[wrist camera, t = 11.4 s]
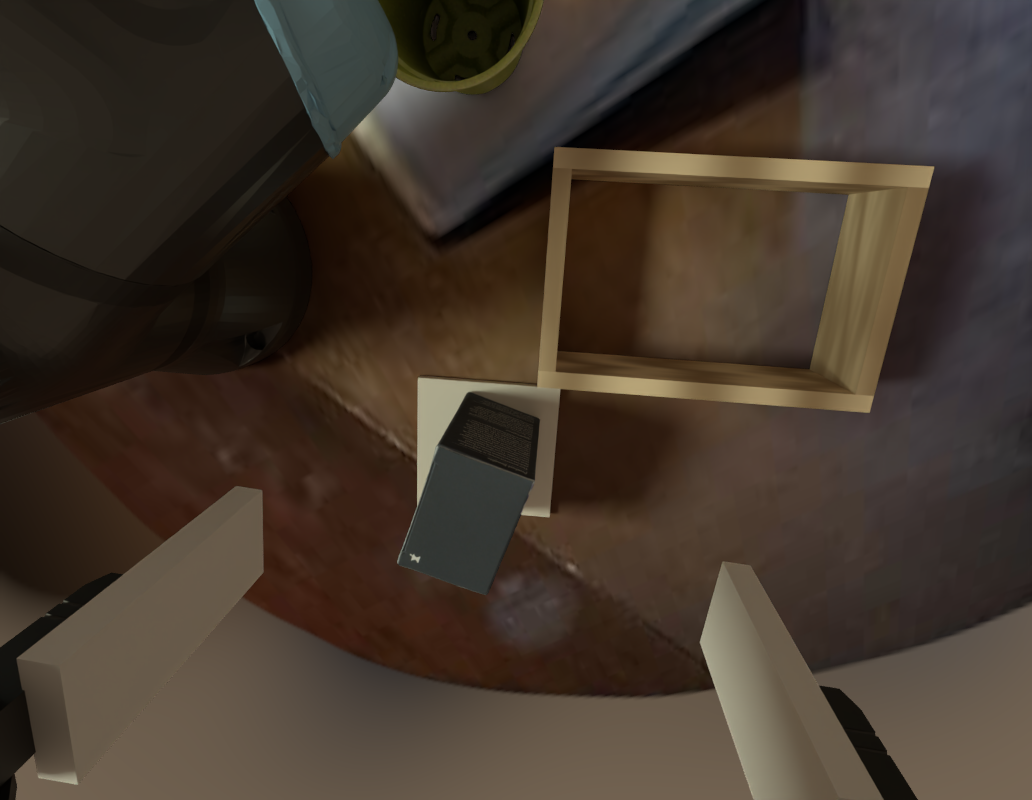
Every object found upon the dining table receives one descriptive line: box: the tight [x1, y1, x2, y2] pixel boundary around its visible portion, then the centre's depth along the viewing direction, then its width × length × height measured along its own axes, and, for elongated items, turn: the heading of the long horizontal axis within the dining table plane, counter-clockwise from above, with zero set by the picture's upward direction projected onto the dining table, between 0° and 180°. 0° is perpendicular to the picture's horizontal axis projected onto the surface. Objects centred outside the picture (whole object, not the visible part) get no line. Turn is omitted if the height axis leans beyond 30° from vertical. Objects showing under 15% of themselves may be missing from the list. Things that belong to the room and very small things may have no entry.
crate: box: [537, 147, 934, 413], centre depth 33 cm, size 19×13×6 cm
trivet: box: [417, 375, 560, 517], centre depth 40 cm, size 10×10×1 cm
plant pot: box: [378, 0, 544, 94], centre depth 28 cm, size 9×9×9 cm
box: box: [397, 392, 540, 595], centre depth 35 cm, size 8×6×11 cm
